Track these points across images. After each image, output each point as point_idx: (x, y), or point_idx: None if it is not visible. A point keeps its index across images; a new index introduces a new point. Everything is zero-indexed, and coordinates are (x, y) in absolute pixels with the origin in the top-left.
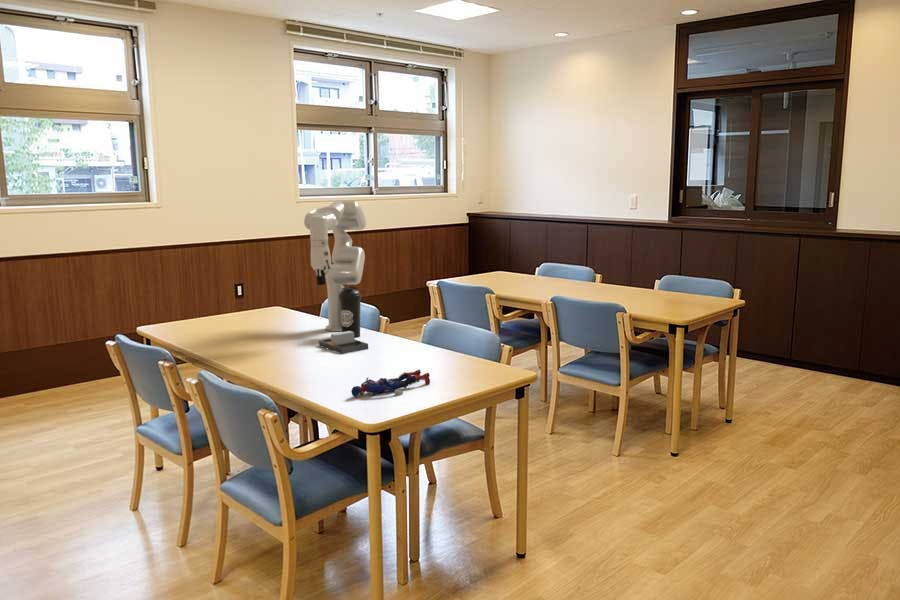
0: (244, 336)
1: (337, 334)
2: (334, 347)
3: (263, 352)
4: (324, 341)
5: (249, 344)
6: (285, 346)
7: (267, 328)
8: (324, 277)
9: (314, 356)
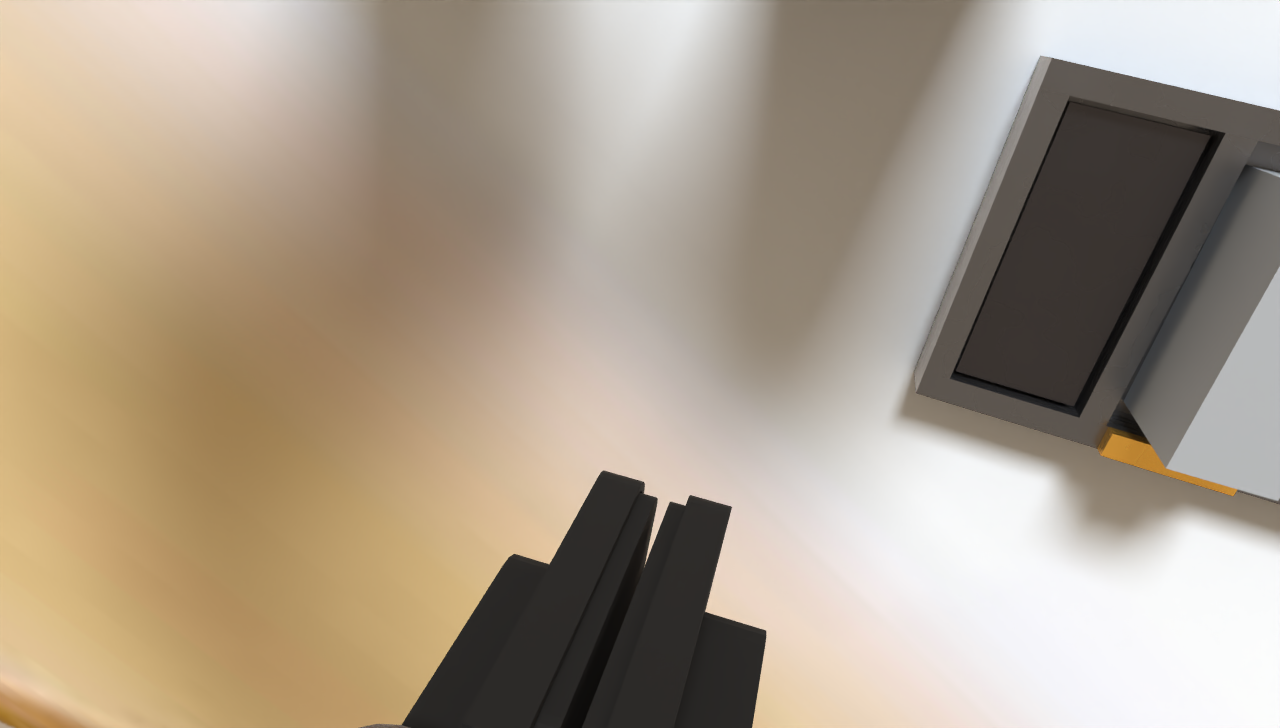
0: (168, 419)
1: (1271, 450)
2: None
3: None
4: (966, 351)
5: (405, 580)
6: None
7: (13, 108)
8: (671, 720)
9: (1153, 676)
